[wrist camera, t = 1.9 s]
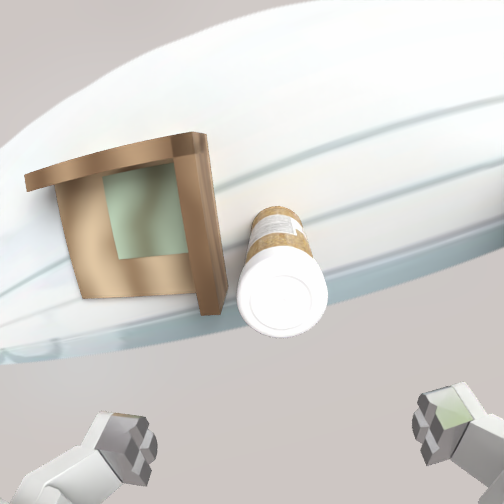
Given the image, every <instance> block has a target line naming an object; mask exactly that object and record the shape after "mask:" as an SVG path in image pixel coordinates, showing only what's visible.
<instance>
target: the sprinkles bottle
mask: <svg viewBox="0 0 504 504" xmlns="http://www.w3.org/2000/svg"><path fill="white" fill-rule="evenodd" d="M327 301H328V291H327V285H326V282H325V279H324V276H323V274H322V271H321V269H320V267H319V265H318V264H317V262H316V261H315V260H314V259H313V256H312V252H311V249H310V246H309V242H308V240H307V237H306V234H305V232H304V230H303V226H302V223H301V221H300V219H299V217H298V216H297V215H296V214H295V213H294V212H293V211H291V210H290V209H288V208H285V207H281V206H275V207H269V208H266V209H264V210H263V211H261V212H260V213H259V214H258V215H257V216H256V218H255V219H254V221H253V224H252V228H251V236H250V240H249V245H248V249H247V254H246V259H245V266H244V268H243V270H242V272H241V274H240V278H239V282H238V287H237V306H238V309H239V312H240V314H241V316H242V318H243V319H244V321H245V322H246V323H247V324H248V325H249V326H250V327H251V328H253V329H254V330H255V331H257V332H259V333H260V334H263V335H266V336H269V337H274V338H289V337H294V336H297V335H300V334H302V333H304V332H306V331H308V330H309V329H311V328H312V327H313V326H314V325H315V324H316V323H317V322H318V321H319V320H320V318H321V317H322V315H323V313H324V311H325V309H326V306H327Z"/></svg>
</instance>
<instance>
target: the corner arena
mask: <svg viewBox="0 0 504 504" xmlns="http://www.w3.org/2000/svg"><path fill="white" fill-rule="evenodd" d="M24 177H25V183H26V189H27V192H30V191H33V190H36V189H40V188H43V187H47V186H51V185H54V186H55V191H56V197H57V202H58V207H59V212H60V217H61V221H62V226H63V230H64V234H65V238H66V243H67V247H68V250H69V254H70V258H71V262H72V265H73V269H74V272H75V276H76V279H77V282H78V286H79V289H80V292H81V295H82V298H83V299H88V298H113V297H134V296H153V295H170V294H186V293H196V294H197V299H198V304H199V309H200V313H201V316H204V315H220V314H221V311H222V307H223V304H224V300H225V296H226V293H227V289H228V283H227V276H226V270H225V263H224V257H223V250H222V244H221V237H220V230H219V223H218V216H217V209H216V202H215V195H214V188H213V181H212V173H211V166H210V158H209V151H208V143H207V135H206V134H203V133H197V132H187V133H182V134H176V135H171V136H166V137H161V138H156V139H151V140H146V141H142V142H137V143H133V144H128V145H124V146H120V147H116V148H112V149H108V150H104V151H100V152H96V153H93V154H89V155H85V156H82V157H78V158H75V159H71V160H68V161H65V162H61V163H58V164H55V165H52V166H49V167H46V168H43V169H40V170H37V171H34V172H31V173H28V174H25V175H24Z"/></svg>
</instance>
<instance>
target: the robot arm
mask: <svg viewBox="0 0 504 504" xmlns="http://www.w3.org/2000/svg"><path fill="white" fill-rule="evenodd" d="M417 403H418V405H419V408H418V409H417V410H416V411H415V412H414V415H413V419H412V428H413V433H414V436H415V439H416V440H417V441H419V442H420V443H422V448H421V453H422V456H423V458H424V461H425V463H426V466H429V465H432V464H436V463H439V462H442V461H445V460H448V459H451V461H452V462H454V463H455V464H457V465H458V466H459V467H461V468H462V469H463V470H465V471H466V472H468V473H469V474H470V475H472V476H473V477H474V478H476V479H477V480H479V481H480V482H481V483H483V484H484V485H486V486H487V487H488V489H487V490H486V492H485V493H484V494H483V495H482V496H481V497H480V499H479V501H478V504H504V419H502V418H500V417H498V416H496V415H494V414H492V413H491V414H487V413H486V411H485V410H484V408H483V407H482V405H481V404H480V402H479V401H478V399H477V398H476V396H475V395H474V394H473V392H472V391H471V389H470V388H469V386H468V385H467V384H466V383H465V382H460V383H457V384H454V385H451V386H447V387H443V388H440V389H436V390H433V391H430V392H426V393H422V394H421V395H420V396H419V398H418V402H417ZM148 426H149V423H148V421H147V419H146V417H143V416H136V415H128V414H120V413H112V412H105V411H101V412H99V413H98V414H97V416H96V418H95V419H94V421H93V423H92V424H91V426H90V428H89V430H88V432H87V434H86V436H85V437H84V439H83V441H82V443H81V445H80V446H77V445H76V446H74V447H73V448H71V449H69V450H68V451H66V452H64V453H63V454H61V455H59V456H58V457H56V458H54V459H53V460H51V461H49V462H48V463H46V464H44V465H43V466H41V467H39V468H37V469H36V470H34V471H32V472H30V473H29V474H27V475H25V477H24V479H23V481H22V482H21V484H20V486H19V487H18V489H17V491H16V493H15V495H14V496H13V498H12V500H11V502H10V503H9V502H7V501H5V500H3V499H1V498H0V504H101V503H102V502H103V501H104V500H106V499H107V498H108V497H109V496H110V495H111V494H112V493H113V492H115V491H116V490H117V489H118V488H119V487H120V486H121V485H122V483H126V484H133V485H139V486H147V484H148V481H149V478H150V474H151V471H152V470H151V468H150V466H149V464H150V463H151V462H153V461H154V460H155V458H156V455H157V440H156V437H155V435H154V433H153V432H151V431H150V430H149V429H148Z"/></svg>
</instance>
